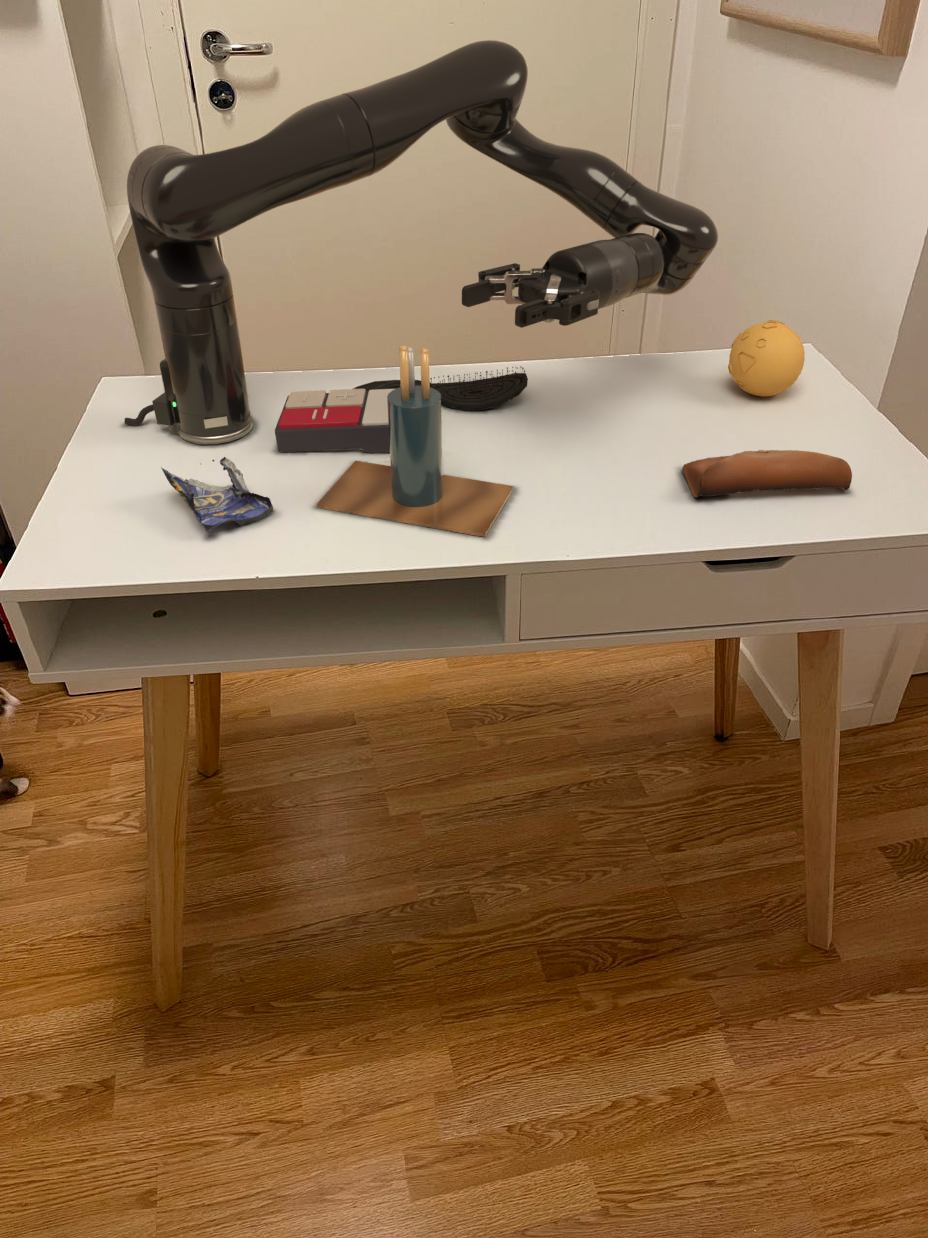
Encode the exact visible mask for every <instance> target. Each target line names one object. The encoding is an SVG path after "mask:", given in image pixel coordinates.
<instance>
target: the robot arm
mask: <svg viewBox="0 0 928 1238" xmlns="http://www.w3.org/2000/svg"><path fill="white" fill-rule="evenodd" d="M528 77H529V72H528V65H527V61H526V58H525V57H524V55H523V54H522V53H521V52H520V51H519V49H518V48H516V47H515V46H513V45H511V44H509V43H507V42H504V41H500V40H493V39H491V40H489V39H485V40H479V41H474V42H471V43H468V44H466V45H463V46H461V47H459V48H457V49H454V50H452V51H450V52H448V53H446V54H444V55H442V56H440V57H438V58H436V59H434V60H432V61H430V62H427V63H425V64H423V65H420V66H419V67H417V68H414V69H412V70H409V71H406V72H404V73H402V74H399V75H396V76H393V77H392V76H391V77H390V78H387V79H384V80H381V81H379V82H375V83H374V84H371V85H367V86H365V87H362V88H359V89H354V90H352V91H347V92H343V93H341V94H338V95H335V96H331V97H329V98H325V99H323V100H320V101H316V102H314V103H311V104H309V105H306V106H305V107H302V108H300V109H299V110H297V111H295V112H293V113H292V114H290V115H289V116H288V117H286V118H285V119H284V120H283V121H281V122H280V123H279V124H277V125H276V126H275V127H274V128H272V129H271V130H270V131H269V132H268V133H266V134H265V135H263V136H261V137H259V138H258V139H255V140H253V141H250V142H247V143H244V144H242V145H238V146H234V147H231V148H227V149H223V150H219V151H214V152H209V153H202V154H193V153H191V152H189V151H186V150H184V149H182V148H179V147H177V146H174V145H168V144H157V145H152V146H149V147H147V148H145V149H144V150H142V151H140V152H139V153H138V154H137V155H136V157H135V158H134V159H133V161H132V163H131V164H130V167H129V169H128V172H127V178H126V195H127V203H128V208H129V214H130V218H131V223H132V227H133V232H134V236H135V241H136V245H137V249H138V253H139V259H140V262H141V266H142V268H143V271H144V274H145V276H146V279H147V281H148V283H149V285H150V289H151V293H152V298H153V300H154V306H155V311H156V317H157V323H158V328H159V333H160V338H161V342H162V343H161V344H162V349H163V353H164V358H163V359H162V360H161V361H160V362H159V370H160V375H161V380H162V385H163V390H164V392H163V393H161V394H160V395H159V396H157V397H156V398H154V399H153V400H151V401H152V404H149V405H147V406H145V407H143V408H142V409H141V410H140V411H139V413H138V414H137V417H135V418H130V417H124V424H125V425H130V426H138V425H140V424H142V423H143V421H144V420H145V418H146V416H147V415H148V414H149V413H151V412H154V415H155V420H156V421H155V422H156V424H157V425H161V426H167V427H171V430H172V434H173V435H179V436H180V437H181V439H183V440H185V441H186V442H189V443H193V444H198V445H218V444H226V443H229V442H233V441H236V440H238V439H241V438H243V437H245V436H246V435H248V434H249V433H250V432H251V431H252V429H253V427H254V425H253V418H252V414H251V410H250V403H249V395H248V387H247V381H246V373H245V367H244V361H243V360H244V359H243V352H242V345H241V338H240V330H239V324H238V318H237V311H236V304H235V297H234V291H233V285H232V284H233V283H232V278H231V274H230V271H229V268H228V267H227V265H226V264H225V261H224V260H223V258H222V256H221V253H220V251H219V248H218V245H217V243H216V242H217V241H216V239H215V238H217V237H219V236H222V235H223V234H225V233H227V232H229V231H231V230H233V229H235V228H237V227H239V226H240V225H242V224H245V223H246V222H249V221H250V220H252V219H254V218H256V217H259V216H261V215H263V214H264V213H265V214H266V213H267V212H269V211H271V210H273V209H276V208H279V207H282V206H284V205H288V204H291V203H294V202H298V201H301V200H304V199H307V198H311V197H314V196H316V195H319V194H321V193H324V192H327V191H331V190H333V189H337V188H340V187H343V186H346V185H350V184H352V183H355V182H357V181H360V180H363V179H366V178H368V177H371V176H373V175H376V174H377V173H380V172H381V171H383V170H384V169H386V168H387V167H389V166H391V165H392V164H393V163H394V162H395V161H397V160H398V159H399V158H400V157H401V156H403V155H404V154H405V153H406V152H407V151H408V150H409V149H410V148H412V147H413V145H415V144H416V143H417V142H418V141H419V140H421V138H423V137H424V136H425V135H426V134H428V132H430V131H431V130H432V129H433V128H435V127H436V126H438V125H439V124H441V123H443V122H444V121H445V122H446V125H447V127H448V128H449V130H450V131H451V132H452V133H453V134H454V135H455V136H456V137H457V139H459V140H460V141H462V142H463V143H464V144H466V145H467V146H468V147H470V148H472V149H473V150H475V151H477V152H479V153H480V154H482V155H484V156H486V157H488V158H489V159H492V160H493V161H495V162H497V163H499V164H501V165H503V166H504V167H506V168H508V169H510V170H511V171H513V172H515V173H517V174H518V175H520V176H522V177H524V178H526V179H528V180H529V181H532V182H534V183H536V184H537V185H539V186H540V187H543V188H545V189H547V190H548V191H550V192H552V193H553V194H555V195H557V196H558V197H559V198H561V199H563V200H564V201H565V202H567V203H569V204H570V205H571V207H572V206H573V208H575V209H576V210H578V211H579V212H580V213H581V214H583V215H584V216H585V217H587V218H588V219H589V220H590V221H592V222H593V223H594V224H596V226H598V227H599V228H601V230H604V231H605V233H607V234H608V235H610V236H611V237H612V238H610V239H599V240H595V241H589V242H588V243H583V244H579V245H575V246H572V247H568V248H564V249H561V250H558V251H555V252H553V253H552V254H551V255H550V256H549V257H548V259H546V262H545V263H544V265H543V266H542V267H541V268H540V267H539V268H535V267H534V268H531V269H529V270H521V264H519V263H517V262H514V263H510V264H505V265H502V266H501V265H500V266H497V267H493V268H488V269H484V270H480V271H478V272H477V273H478V274H477V275H478V281H477V282H474V283H470V284H467V285H464V286H463V287H462V288H461V305H462V306H463V307H467V308H471V307H474V306H477V305H480V304H484V303H485V304H486V303H488V302H491V301H504V302H505V303H506V304H507V305H517V306H516V307H515V310H514V326H516V327H518V328H521V329H523V328H525V327H528V326H532V325H535V324H538V323H542V322H544V323H547V324H549V323H553V322H555V320H557V321H558V324H559V325H560V326H563V327H566V326H571V325H573V324H575V323H578V322H581V321H583V320H587V319H588V318H591V317H593V316H597V315H598V314H599V310H600V309H604V308H606V307H610V306H612V305H614V304H616V303H618V302H620V301H622V300H624V299H626V298H627V299H628V298H630V297H633V296H636V295H639V294H648V295H650V294H651V295H662V296H670V295H674V294H676V293H678V292H680V291H681V290H683V289H685V288H686V287H687V286H688V285H689V284H690V283H691V282H692V280H693V278H695V276H696V274H697V273H698V272H699V271H700V269H701V267H702V266H703V265H704V264H705V262H706V261H707V259H708V258H709V257H710V255H711V254H712V253H713V251H714V250H715V248H716V246H717V244H718V241H719V232H718V229H717V227H716V224H715V222H714V220H713V219H712V218H711V216H709V215H708V214H707V213H706V212H705V211H704V210H702V209H700V208H698V207H696V206H694V205H691V204H689V203H686V202H683V201H680V200H677V199H675V198H672V197H671V196H668V195H666V194H663V193H661V192H658V191H656V190H654V189H652V188H649V186H646V185H645V184H644V183H642V182H641V181H639V180H638V179H637V178H636V177H635V176H633V174H631V173H630V172H628V171H627V170H626V169H624V168H623V167H621V166H620V165H619V164H618V163H616V162H615V161H613V160H612V159H611V158H609V157H607V156H605V155H603V154H601V153H598V152H595V151H593V150H588V149H583V148H579V147H571V146H565V145H559V144H555V143H552V142H549V141H545V140H543V139H542V138H540V137H539V136H536V135H535V134H533V133H532V132H530V131H529V130H528V129H527V128H526V127H525V126H524V125H523V124H521V123H520V121H518V119H517V115H518V113H519V109H520V107H521V104H522V102H523V101H522V100H523V99H524V96H525V94H526V93H525V92H526V89H527V84H528ZM642 226H647V227H652V228H655V229H657V233H656V234H655V236H653V235H651V234H649V233H645V232H637V231H638V230H639V229H640V228H641V227H642ZM516 288H517V295H516V296H514V295H513V290H515V289H516Z"/></svg>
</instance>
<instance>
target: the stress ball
mask: <svg viewBox="0 0 928 1238" xmlns="http://www.w3.org/2000/svg"><path fill="white" fill-rule="evenodd" d="M730 348H731V349H730V352H729V360H728V364H727V369H728V373H729V375H730V376H731V377H732V379H733V381H734V382H735V384H736V385H737V386H738V387H739V388H740V389H742V391H744V392H746V393H748V394H749V395H751V396H752V395H753V396H757V397H773V396H776V395H779V394H780V393H783V392H785V391H786V390H788V389H789V388H791V387H792V386H793V385H794V383H796V382H797V380H798V379H799V377H800V375H801V374H802V371H803V368H804V365H805V360H806V359H805V358H806V357H805V355H806V354H805V353H806V352H805V347H804V344H803V341H802V339H801V338H800V336H799V335H798V333H797V332H796V331H794V329H792V328H791V327H790V326H788V325H786V324H785V323H784V322H783V321H780V320H774V319H773V320H771V319H770V320H767V321H764V322H758V323H756V324H753V325H751V326H749V327H748V328H746V329H745V330H744V331H743V332H740V333H738V335H737V336H736V337H735V339H734V340H733V342H732V344H731V346H730Z"/></svg>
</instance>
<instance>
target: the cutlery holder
mask: <svg viewBox="0 0 928 1238" xmlns="http://www.w3.org/2000/svg"><path fill="white" fill-rule="evenodd" d="M414 352H415V351H414V348H413V347H412V346H407V345H405V344H402V345H400V346H399V349H398V354H399V357H398V358H399V377H400V379H399V380H400V382H401V387H400V388H397V389H394V390H392V391H391V392H390V393H389V394H388V396H387V406H388V425H389V445H390V452H389V462H390V463H389V466H391V485H392V497H393V499H394V500H395V501H396V502H397V503H399V504H401V505H404V506H408V507H424V506H429V505H432V504H434V503H436V502H438V501H439V500H440V499H441V498H442V495H443V489H442V475H443V434H442V432H443V431H442V430H443V428H442V426H443V425H442V422H443V421H442V404H441V394H440V393H439V392H438V391H437V390H435V389H433V388H430V383H431V379H430V378H431V376H430V350H429V349H428V348H427V347H422V348H420V352H419V354H420V381H421V386H415V380H416V379H415V353H414Z"/></svg>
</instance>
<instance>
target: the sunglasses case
mask: <svg viewBox="0 0 928 1238" xmlns="http://www.w3.org/2000/svg"><path fill="white" fill-rule="evenodd" d="M681 470H682V473H683V477H684V479H685V482H686V484H687V486H688V489H689V491H690V493H691V495H692V497H693V498H695V499H697V498H700V496H701V497H712V496H723V495H734V494H739V493H749V492H755V491H762V492H763V491H786V490H811V489H812V490H815V489H838V488H839V489H844V490H845V491H848V490H849V489H850V488H851V484H852V479H853V472H852V468H851V466H850V464H849V463H848V462H847V461H846V460H844V459H843V458H840V457H837V456H833V455H829V454H825V453H821V452H818V451H817V452H815V451H809V450H797V449H795V450H794V449H789V450H788V449H787V450H786V449H785V450H780V449H769V450H768V449H767V450H766V449H759V450H745V451H742V452H738V453H734V454H732V455H724V456H723V455H721V456H714V457H713V456H712V457H707V458H701V459H696V460H691V461H690V462H686V463H684V464H683V465H682V469H681Z"/></svg>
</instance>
